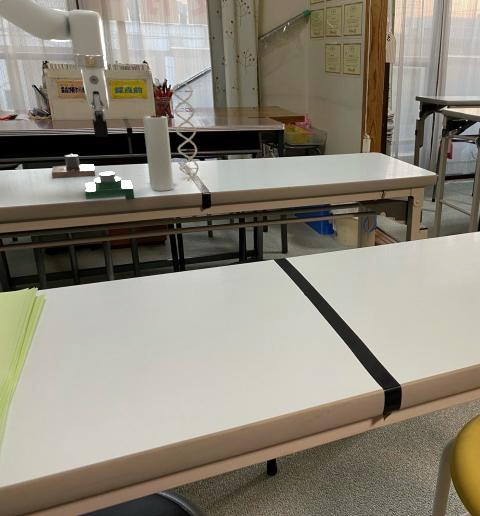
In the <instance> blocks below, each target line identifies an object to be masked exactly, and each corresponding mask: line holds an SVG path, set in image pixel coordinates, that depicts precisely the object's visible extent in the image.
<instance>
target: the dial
mask: <svg viewBox="0 0 480 516" xmlns="http://www.w3.org/2000/svg"><path fill="white" fill-rule="evenodd" d="M79 156H80V155H78V154H73V153H70V154H66V155H64V163H65V166H66V169H79V168H80V165H81V164H80V158H79Z"/></svg>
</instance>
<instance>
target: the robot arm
mask: <svg viewBox="0 0 480 516" xmlns="http://www.w3.org/2000/svg"><path fill="white" fill-rule="evenodd" d="M0 17H2V18H3V19H5V20H6V21H7V22H8V23H11V24H12V25H14V26H16V27H17V28H19V29H21V30H22V31H24V32H26V33H27V34H29V35H31V36H33V37H35V38H37V39H38V40H43V41H50V42H51V41H53V42H71V44H72V46H71V47H72V53H73V57H74V65H75V69H76V70H80V71H81V77H82V83H83V88H84V94H85V98H86V101H87V105H88V108H89V109H90V110H91V112H92V118H93V119H92V125H93V132H94V136H95V137H96V138H105V137H109V131H108V124H107V123H108V122H107V120H106V115H105V109H104V108H106V110H109V109H110V102H109V94H108V88H107V80H106V75H105V71H106V70H109V68H108V58H107V52H106V51H107V50H106V45H105V38H104V36H105V35H104V30H103V29H104V28H103V22H102V17H101V15H100V13H99V12H98V11H94V10H87V9H73V10H70V11H68V10H63V9H57V8H53V7H50V6H49V7H48V6H45V5H43V4H41V3H39V2H38V1H36V0H0ZM104 70H105V71H104Z"/></svg>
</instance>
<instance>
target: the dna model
mask: <svg viewBox="0 0 480 516" xmlns="http://www.w3.org/2000/svg"><path fill="white" fill-rule="evenodd" d="M184 84H185V86H187V88H188V89H189V90H184V93H189V95H188V96H187V97H186V98H185V99H183V98H181V97H180V96H179V95H178V94H176V93H182V92H183V90H176V88H177V87H178V86H179V85H180V83H179V82H178V83H177V84H175V85H174V86H173V87H172V90H171V91H172V94H173V95H174V97H176V98H177V99H178V100H180V101H181V102H178V104H177V105H176V106H175V107H174V109H173V112H174V114H175V115H176V116H177V117H178V118H180V119H181V120H183V122H181V123H180V124H179V125H178V126H177V127H176V128H175V133H176V134H177V135H178V136H180V137H182V139H185V140H184V141H183V142H182V143H181V144H179V146H178V147H177V152H178V153H179V154H180V155H181V156H182V155H183V157H185V158H187V160H185V161H183V163H181V164H180V165H179V168H178V169H179V170H180V171H181V173H183V174H185V175H187V176H189V177H188V178H187V179H186V181H187V182H189V181H190V180H191V179H193V178H194V177H195V176H196V175H197V174H198V172H199V169H200V167H199V165H198V163H197V162H196V161H195V159H193V158H194V157H195V156H196V155H197V153H198V148H197V146H196V144H195V143H194V142H193V141H192V139H193V138H194V136H195V135H196V133H197V129H196V127H195V126H194V125H193V123H191V121H190V120H191V119H192V118H193V117H194V114H195V109H194V107H193V106H192V105H191V104H190V103H189V102H188V100H189V99H190V98H191V97H192V96H193V93H194V91H195V90H193V88H192V87H191V86H190V84H188V83H187V82H184ZM183 104H184V105H185V104H186V105H187V106H188V107H189V108H190V110H178V109H179V108H180V106H182V105H183ZM180 112H184V113H191V114H190V115H189V116H188V117H187V119H186V118H184V117H183V116H181V115H180V114H179V113H180ZM184 124H189V125H190V127H192V129H193V130H189V129H188V130H187V132H193V133H192V134H191V136H190V137H189V138H188V137H186V136H184V135H183V134H182V133H181V132H185V130H180V129H181V127H182V126H183V125H184ZM187 143H190V144H191V145H193V147H194V148H193V149H191V148H190V149H188V151H194V153H193V154H192V155H191V156H189V155H187V154H186V153H184V152H182V151H183V149H181V148H182V147H183V146H184V145H185V144H187ZM184 151H187V149H184ZM189 162H193V164H194V165H195V166H196V167H189V168H188V167H185V168H184V167H183V166H184V165H185V164H187V163H189ZM185 170H195V172H194V173H192V174H190V173H188V172H186V171H185Z"/></svg>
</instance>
